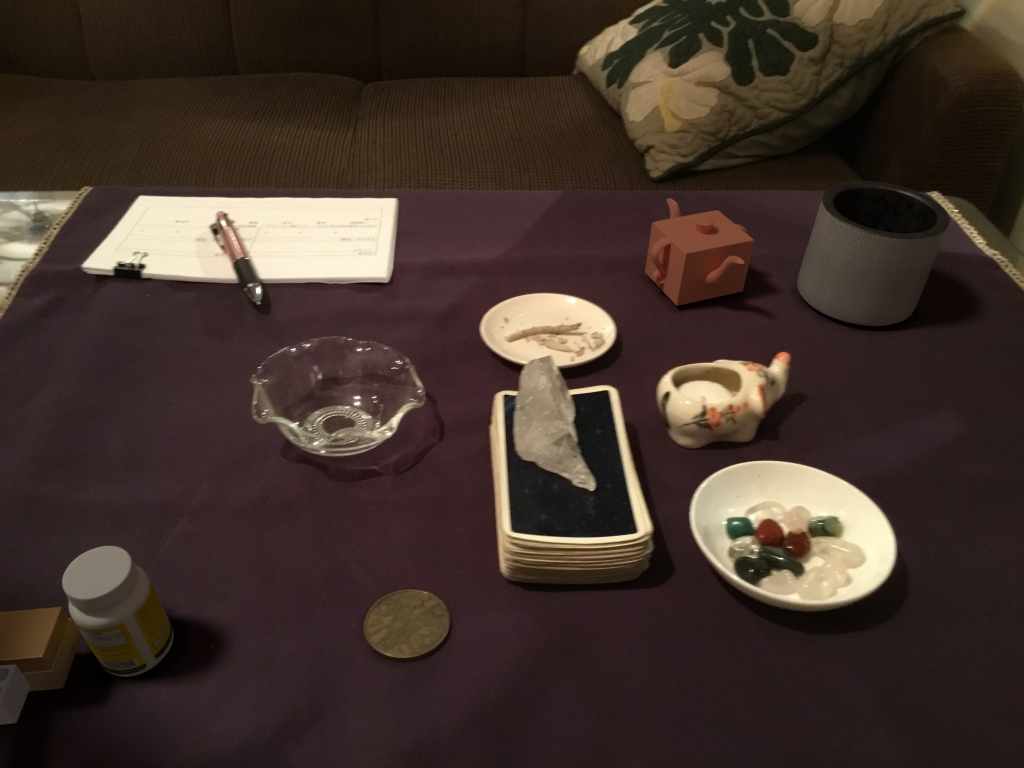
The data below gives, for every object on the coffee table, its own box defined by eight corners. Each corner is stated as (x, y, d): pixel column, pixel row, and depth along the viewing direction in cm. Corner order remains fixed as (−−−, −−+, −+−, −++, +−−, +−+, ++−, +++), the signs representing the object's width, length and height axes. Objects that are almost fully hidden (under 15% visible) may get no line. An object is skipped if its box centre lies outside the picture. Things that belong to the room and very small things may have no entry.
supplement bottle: (155, 604, 56) (119, 527, 51) (187, 647, 53) (153, 571, 48) (87, 646, 53) (42, 570, 48) (117, 693, 51) (73, 618, 45)
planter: (876, 346, 81) (913, 251, 74) (772, 294, 88) (797, 203, 81) (934, 302, 87) (974, 211, 80) (833, 256, 94) (861, 169, 87)
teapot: (680, 334, 82) (693, 265, 76) (614, 262, 92) (622, 197, 87) (775, 312, 85) (794, 244, 80) (702, 245, 96) (714, 181, 91)
